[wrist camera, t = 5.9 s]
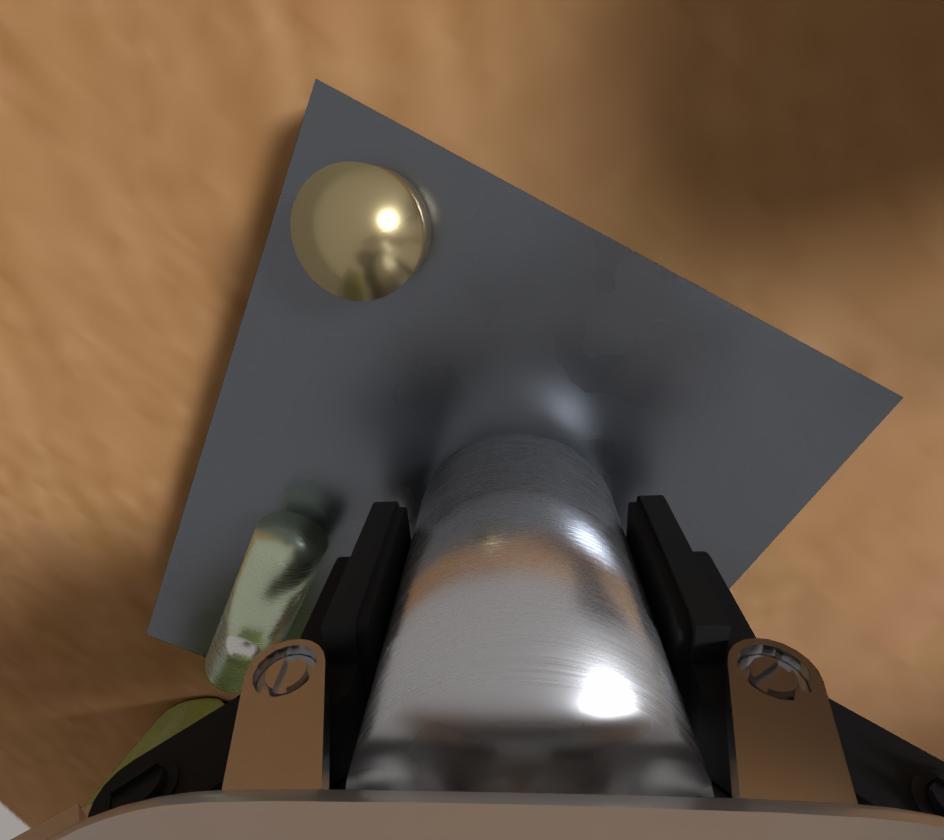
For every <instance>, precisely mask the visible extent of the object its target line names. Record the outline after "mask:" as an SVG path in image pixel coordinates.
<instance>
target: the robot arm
mask: <svg viewBox="0 0 944 840" xmlns="http://www.w3.org/2000/svg"><path fill="white" fill-rule="evenodd" d="M626 539H627V542H628V545H629V548H630V550H631V553H632V556H633V559H634V562H635V565H636V568H637V571H638V574H639V576H640V579H641V582H642V585H643V588H644V591H645V594H646V597H647V600H648V602H649V605H650V608H651V611H652V614H653V617H654V620H655V623H656V626H657V628H658V631H659V634H660V637H661V640H662V643H663V646H664V649H665V652H666V654H667V657H668V660H669V663H670V666H671V669H672V672H673V675H674V678H675V680H676V683H677V686H678V689H679V692H680V695H681V698H682V701H683V704H684V706H685V709H686V712H687V715H688V718H689V721H690V724H691V727H692V730H693V732H694V735H695V738H696V741H697V744H698V747H699V750H700V753H701V755H702V758H703V761H704V764H705V767H706V770H707V773H708V776H709V779H710V782H711V785H712V789H713V793H714V797H715V798H707V797H671V796H634V795H596V794H551V793H505V792H456V791H397V790H345V789H346V782H347V776H348V772H349V768H350V765H351V761H352V757H353V754H354V750H355V746H356V743H357V739H358V735H359V732H360V728H361V724H362V721H363V717H364V713H365V710H366V706H367V702H368V698H369V695H370V691H371V687H372V684H373V680H374V676H375V673H376V669H377V665H378V662H379V658H380V654H381V651H382V647H383V643H384V640H385V636H386V632H387V628H388V625H389V621H390V617H391V614H392V610H393V606H394V603H395V599H396V595H397V592H398V588H399V584H400V581H401V577H402V573H403V570H404V566H405V562H406V559H407V555H408V551H409V547H410V544H411V534H410V527H409V519H408V512H407V508H406V507H399V503H398V502H397V501H388V502H374V503H373V505H372V507H371V509H370V512H369V514H368V516H367V519H366V521H365V523H364V526H363V528H362V530H361V533H360V535H359V538H358V540H357V542H356V545H355V547H354V549H353V552H352V554H351V556H350V557H339V558H337V560H336V562H335V563H334V565H333V568H332V570H331V572H330V574H329V576H328V578H327V581H326V583H325V585H324V587H323V589H322V591H321V594H320V596H319V598H318V600H317V602H316V604H315V607H314V609H313V611H312V613H311V615H310V617H309V620H308V622H307V624H306V626H305V628H304V631H303V633H302V635H301V637H300V639H294V640H287V641H284V642H281V643H278V644H276V645H274V646H272V647H270V648H268V649H267V650H265V651H264V652H263V653H261V654H260V655H259V656H258V657H257V658H256V659H255V660H254V661H253V662H252V664H251V665H250V666H249V668H248V669H247V672H246V674H245V677H244V680H243V685H242V690H241V695H239V696H237V697H236V698H234V699H233V700H231V701H229V702H228V703H226V704H224V705H223V706H221V707H219V708H218V709H216V710H215V711H213V712H211V713H210V714H208V715H206V716H205V717H203V718H201V719H200V720H198V721H197V722H195V723H193V724H192V725H190V726H188V727H187V728H185V729H184V730H182V731H180V732H179V733H177V734H175V735H174V736H172V737H170V738H169V739H167V740H166V741H164V742H162V743H161V744H159V745H157V746H156V747H154V748H153V749H151V750H149V751H148V752H146V753H144V754H143V755H141V756H139V757H138V758H136V759H135V760H133V761H131V762H130V763H129V764H127V765H126V766H125V767H123V768H122V769H120V770H119V771H118V772H116V774H115V775H114V776H113V777H112V778H111V779H110V780H109V781H108V782H107V783H106V784H105V785H104V786H103V787H102V789H101V790H100V792H99V793H98V795H97V796H96V798H95V799H94V801H93V803H92V804H90V805H88V806H87V807H85V808H83V809H82V808H81V806H80V805H79V803H77V804H75V805H73V806H71V807H70V808H68V809H66V810H64V811H62V812H60V813H59V814H57V815H55V816H53V817H51V818H49V819H48V820H46V821H44V822H42V823H40V824H39V825H37V826H35V827H33V828H31V829H29V830H28V831H26V832H24V833H22V834H20V835H18V836H17V837H15V838H13V839H11V840H944V762H943V761H941V760H939V759H938V758H936V757H934V756H932V755H930V754H928V753H927V752H925V751H923V750H921V749H919V748H918V747H916V746H914V745H912V744H910V743H909V742H907V741H905V740H903V739H901V738H900V737H898V736H896V735H894V734H892V733H891V732H889V731H887V730H885V729H883V728H881V727H880V726H878V725H876V724H874V723H872V722H871V721H869V720H867V719H865V718H863V717H862V716H860V715H858V714H856V713H854V712H853V711H851V710H849V709H847V708H845V707H844V706H842V705H840V704H838V703H836V702H835V701H833V700H831V699H829V698H828V695H827V692H826V688H825V685H824V681H823V679H822V677H821V675H820V673H819V671H818V669H817V668H816V667H815V666H814V665H813V664H812V663H811V662H810V660H809V659H807V658H806V657H805V656H803V655H802V654H801V653H799V652H798V651H797V650H795V649H793V648H791V647H789V646H787V645H785V644H783V643H780V642H776V641H773V640H769V639H761V638H756V637H755V635H754V633H753V632H752V630H751V628H750V626H749V624H748V623H747V621H746V619H745V617H744V615H743V614H742V612H741V610H740V608H739V606H738V605H737V603H736V601H735V599H734V598H733V596H732V594H731V592H730V590H729V589H728V587H727V585H726V583H725V581H724V580H723V578H722V576H721V574H720V572H719V571H718V569H717V567H716V565H715V563H714V562H713V560H712V558H711V557H710V555H709V554H708V553H707V552H705V551H692V549H691V547H690V545H689V543H688V541H687V539H686V537H685V535H684V534H683V532H682V530H681V528H680V526H679V524H678V522H677V520H676V518H675V516H674V514H673V512H672V510H671V508H670V506H669V505H668V503H667V501H666V499H665V497H664V496H663V495H642V496H638V497H637V499H636V502H629V504H628V514H627V530H626Z"/></svg>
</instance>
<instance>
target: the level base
mask: <svg viewBox="0 0 944 840" xmlns="http://www.w3.org/2000/svg"><path fill="white" fill-rule="evenodd" d="M902 398H903V397H902V396H900V395H898V394H896V393H894V392H893V391H891V390H889V389H887V388H885V387H883V386H881V385H880V384H878V383H876V382H874V381H872V380H870V379H869V378H867V377H865V376H863V375H861V374H859V373H857V372H856V371H854V370H852V369H850V368H848V367H846V366H845V365H843V364H841V363H839V362H837V361H835V360H834V359H832V358H830V357H828V356H826V355H824V354H822V353H821V352H819V351H817V350H815V349H813V348H811V347H810V346H808V345H806V344H804V343H802V342H800V341H798V340H797V339H795V338H793V337H791V336H789V335H787V334H786V333H784V332H782V331H780V330H778V329H776V328H775V327H773V326H771V325H769V324H767V323H765V322H763V321H762V320H760V319H758V318H756V317H754V316H752V315H751V314H749V313H747V312H745V311H743V310H741V309H739V308H738V307H736V306H734V305H732V304H730V303H728V302H727V301H725V300H723V299H721V298H719V297H717V296H716V295H714V294H712V293H710V292H708V291H706V290H704V289H703V288H701V287H699V286H697V285H695V284H693V283H692V282H690V281H688V280H686V279H684V278H682V277H681V276H679V275H677V274H675V273H673V272H671V271H669V270H668V269H666V268H664V267H662V266H660V265H658V264H657V263H655V262H653V261H651V260H649V259H647V258H645V257H644V256H642V255H640V254H638V253H636V252H634V251H633V250H631V249H629V248H627V247H625V246H623V245H622V244H620V243H618V242H616V241H614V240H612V239H610V238H609V237H607V236H605V235H603V234H601V233H599V232H598V231H596V230H594V229H592V228H590V227H588V226H586V225H585V224H583V223H581V222H579V221H577V220H575V219H574V218H572V217H570V216H568V215H566V214H564V213H563V212H561V211H559V210H557V209H555V208H553V207H551V206H550V205H548V204H546V203H544V202H542V201H540V200H539V199H537V198H535V197H533V196H531V195H529V194H527V193H526V192H524V191H522V190H520V189H518V188H516V187H515V186H513V185H511V184H509V183H507V182H505V181H504V180H502V179H500V178H498V177H496V176H494V175H492V174H491V173H489V172H487V171H485V170H483V169H481V168H480V167H478V166H476V165H474V164H472V163H470V162H468V161H467V160H465V159H463V158H461V157H459V156H457V155H456V154H454V153H452V152H450V151H448V150H446V149H445V148H443V147H441V146H439V145H437V144H435V143H433V142H432V141H430V140H428V139H426V138H424V137H422V136H421V135H419V134H417V133H415V132H413V131H411V130H410V129H408V128H406V127H404V126H402V125H400V124H398V123H397V122H395V121H393V120H391V119H389V118H387V117H386V116H384V115H382V114H380V113H378V112H376V111H374V110H373V109H371V108H369V107H367V106H365V105H363V104H362V103H360V102H358V101H356V100H354V99H352V98H351V97H349V96H347V95H345V94H343V93H341V92H339V91H338V90H336V89H334V88H332V87H330V86H328V85H327V84H325V83H323V82H321V81H319V80H317V79H316V80H315V83H314V87H313V90H312V93H311V96H310V100H309V103H308V106H307V109H306V113H305V116H304V119H303V123H302V126H301V129H300V132H299V136H298V139H297V142H296V145H295V149H294V152H293V155H292V159H291V162H290V165H289V168H288V172H287V175H286V178H285V181H284V185H283V188H282V191H281V195H280V198H279V201H278V204H277V208H276V211H275V214H274V217H273V221H272V224H271V227H270V231H269V234H268V237H267V240H266V244H265V247H264V250H263V253H262V257H261V260H260V263H259V267H258V270H257V273H256V276H255V280H254V283H253V286H252V289H251V293H250V296H249V299H248V303H247V306H246V309H245V312H244V316H243V319H242V322H241V325H240V329H239V332H238V335H237V339H236V342H235V345H234V348H233V352H232V355H231V358H230V361H229V365H228V368H227V371H226V375H225V378H224V381H223V384H222V388H221V391H220V394H219V397H218V401H217V404H216V407H215V411H214V414H213V417H212V420H211V424H210V427H209V430H208V433H207V437H206V440H205V443H204V447H203V450H202V453H201V456H200V460H199V463H198V466H197V469H196V473H195V476H194V479H193V483H192V486H191V489H190V492H189V496H188V499H187V502H186V505H185V509H184V512H183V515H182V519H181V522H180V525H179V528H178V532H177V535H176V538H175V541H174V545H173V548H172V551H171V555H170V558H169V561H168V564H167V568H166V571H165V574H164V577H163V581H162V584H161V587H160V591H159V594H158V597H157V600H156V604H155V607H154V610H153V613H152V617H151V620H150V623H149V627H148V630H147V633H146V635H149V636H151V637H154V638H157V639H159V640H162V641H164V642H167V643H170V644H172V645H175V646H178V647H180V648H183V649H185V650H188V651H191V652H193V653H196V654H198V655H201V656H204V657H206V659H205V672H206V675H207V677H208V679H209V681H210V682H211V683H212V684H213V685H214V686H215V687H217V688H219V689H220V690H223V691H226V692H230V693H241V690H242V685H243V680H244V677H245V674H246V672H247V669H248V668H249V666H250V665H251V664H252V662H253V661H254V660H255V659H256V658H257V657H258V656H259V655H260V654H261V653H263V652H264V651H265V650H267V649H268V648H270V647H272V646H274V645H276V644H278V643H281V642H284V641H287V640H294V639H300V637H301V635H302V633H303V631H304V628H305V626H306V624H307V622H308V620H309V617H310V615H311V613H312V611H313V609H314V607H315V604H316V602H317V600H318V598H319V596H320V594H321V591H322V589H323V587H324V585H325V583H326V581H327V578H328V576H329V574H330V572H331V570H332V568H333V565H334V563H335V562H336V560H337V558H339V557H350V556H351V554H352V552H353V549H354V547H355V545H356V542H357V540H358V538H359V535H360V533H361V530H362V528H363V526H364V523H365V521H366V519H367V516H368V514H369V512H370V509H371V507H372V505H373V503H374V502H388V501H397V502H398V503H399V507H406V508H407V512H408V519H409V527H410V534H411V540H412V536H413V533H414V529H415V525H416V522H417V518H418V514H419V511H420V507H421V503H422V500H423V496H424V493H425V491H426V488H427V486H428V484H429V482H430V480H431V478H432V477H433V475H434V474H435V473H436V471H437V470H438V468H439V467H440V466H441V465H442V464H443V463H444V462H445V461H446V460H447V459H449V458H450V457H451V456H452V455H454V454H455V453H456V452H458V451H460V450H461V449H463V448H465V447H467V446H469V445H471V444H473V443H476V442H478V441H481V440H484V439H488V438H491V437H497V436H503V435H518V434H519V435H533V436H538V437H543V438H547V439H550V440H553V441H556V442H559V443H561V444H563V445H565V446H568V447H570V448H572V449H573V450H575V451H576V452H578V453H579V454H581V455H582V456H583V457H585V458H586V459H587V460H588V461H589V462H591V464H592V465H593V466H594V467H595V468H596V469H597V470H598V471H599V473H600V474H601V476H602V477H603V479H604V480H605V482H606V484H607V486H608V488H609V490H610V493H611V496H612V498H613V501H614V504H615V507H616V510H617V513H618V516H619V519H620V522H621V524H622V527H623V530H624V533H625V536H626V530H627V514H628V504H629V502H636V499H637V497H638V496H642V495H663V496H664V497H665V499H666V501H667V503H668V505H669V506H670V508H671V510H672V512H673V514H674V516H675V518H676V520H677V522H678V524H679V526H680V528H681V530H682V532H683V534H684V535H685V537H686V539H687V541H688V543H689V545H690V547H691V549H692V551H705V552H707V553H708V554H709V555H710V557H711V558H712V560H713V562H714V563H715V565H716V567H717V569H718V571H719V572H720V574H721V576H722V578H723V580H724V581H725V583H726V585H727V587H728V589H730V587H731V586H732V585H733V584H734V583H735V582H736V581H737V580H738V579H739V578H740V576H741V575H742V574H743V573H744V572H745V571H746V570H747V569H748V568H749V567H750V565H751V564H752V563H753V562H754V561H755V560H756V559H757V558H758V557H759V556H760V554H761V553H762V552H763V551H764V550H765V549H766V548H767V547H768V546H769V545H770V543H771V542H772V541H773V540H774V539H775V538H776V537H777V536H778V535H779V534H780V532H781V531H782V530H783V529H784V528H785V527H786V526H787V525H788V524H789V523H790V521H791V520H792V519H793V518H794V517H795V516H796V515H797V514H798V513H799V512H800V510H801V509H802V508H803V507H804V506H805V505H806V504H807V503H808V502H809V501H810V499H811V498H812V497H813V496H814V495H815V494H816V493H817V492H818V491H819V490H820V488H821V487H822V486H823V485H824V484H825V483H826V482H827V481H828V480H829V479H830V477H831V476H832V475H833V474H834V473H835V472H836V471H837V470H838V469H839V468H840V466H841V465H842V464H843V463H844V462H845V461H846V460H847V459H848V458H849V457H850V455H851V454H852V453H853V452H854V451H855V450H856V449H857V448H858V447H859V446H860V444H861V443H862V442H863V441H864V440H865V439H866V438H867V437H868V436H869V435H870V433H871V432H872V431H873V430H874V429H875V428H876V427H877V426H878V425H879V424H880V423H881V421H882V420H883V419H884V418H885V417H886V416H887V415H888V414H889V413H890V412H891V410H892V409H893V408H894V407H895V406H896V405H897V404H898V403H899V402H900V401H901V399H902Z"/></svg>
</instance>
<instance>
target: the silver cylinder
mask: <svg viewBox="0 0 944 840" xmlns="http://www.w3.org/2000/svg"><path fill="white" fill-rule="evenodd" d="M345 790H397V791H456V792H505V793H551V794H596V795H634V796H671V797H707V798H715V797H714V793H713V789H712V785H711V782H710V779H709V776H708V773H707V770H706V767H705V764H704V761H703V758H702V755H701V753H700V750H699V747H698V744H697V741H696V738H695V735H694V732H693V730H692V727H691V724H690V721H689V718H688V715H687V712H686V709H685V706H684V704H683V701H682V698H681V695H680V692H679V689H678V686H677V683H676V680H675V678H674V675H673V672H672V669H671V666H670V663H669V660H668V657H667V654H666V652H665V649H664V646H663V643H662V640H661V637H660V634H659V631H658V628H657V626H656V623H655V620H654V617H653V614H652V611H651V608H650V605H649V602H648V600H647V597H646V594H645V591H644V588H643V585H642V582H641V579H640V576H639V574H638V571H637V568H636V565H635V562H634V559H633V556H632V553H631V550H630V548H629V545H628V542H627V539H626V536H625V533H624V530H623V527H622V524H621V522H620V519H619V516H618V513H617V510H616V507H615V504H614V501H613V498H612V496H611V493H610V490H609V488H608V486H607V484H606V482H605V480H604V479H603V477H602V476H601V474H600V473H599V471H598V470H597V469H596V468H595V467H594V466H593V465H592V464H591V462H589V461H588V460H587V459H586V458H585V457H583V456H582V455H581V454H579V453H578V452H576V451H575V450H573V449H572V448H570V447H568V446H565V445H563V444H561V443H559V442H556V441H553V440H550V439H547V438H543V437H538V436H533V435H519V434H518V435H503V436H497V437H491V438H488V439H484V440H481V441H478V442H476V443H473V444H471V445H469V446H467V447H465V448H463V449H461V450H460V451H458V452H456V453H455V454H454V455H452V456H451V457H450V458H449V459H447V460H446V461H445V462H444V463H443V464H442V465H441V466H440V467H439V468H438V470H437V471H436V473H435V474H434V475H433V477H432V478H431V480H430V482H429V484H428V486H427V488H426V491H425V493H424V496H423V500H422V503H421V507H420V511H419V514H418V518H417V522H416V525H415V529H414V533H413V536H412V540H411V544H410V547H409V551H408V555H407V559H406V562H405V566H404V570H403V573H402V577H401V581H400V584H399V588H398V592H397V595H396V599H395V603H394V606H393V610H392V614H391V617H390V621H389V625H388V628H387V632H386V636H385V640H384V643H383V647H382V651H381V654H380V658H379V662H378V665H377V669H376V673H375V676H374V680H373V684H372V687H371V691H370V695H369V698H368V702H367V706H366V710H365V713H364V717H363V721H362V724H361V728H360V732H359V735H358V739H357V743H356V746H355V750H354V754H353V757H352V761H351V765H350V768H349V772H348V776H347V782H346V789H345Z"/></svg>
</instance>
